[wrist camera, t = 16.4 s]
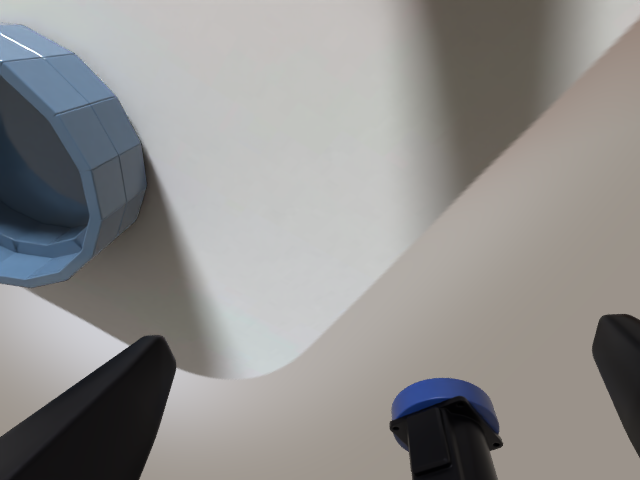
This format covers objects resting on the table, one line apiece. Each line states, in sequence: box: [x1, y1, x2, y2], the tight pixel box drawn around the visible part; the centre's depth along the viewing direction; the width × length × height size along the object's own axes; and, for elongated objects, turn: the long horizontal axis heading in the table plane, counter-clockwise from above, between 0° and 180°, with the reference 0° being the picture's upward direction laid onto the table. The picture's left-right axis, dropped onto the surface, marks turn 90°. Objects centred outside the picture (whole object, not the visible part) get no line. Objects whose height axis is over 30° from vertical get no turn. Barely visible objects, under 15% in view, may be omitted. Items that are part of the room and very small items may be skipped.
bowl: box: [0, 22, 147, 288], centre depth 19 cm, size 12×12×4 cm
